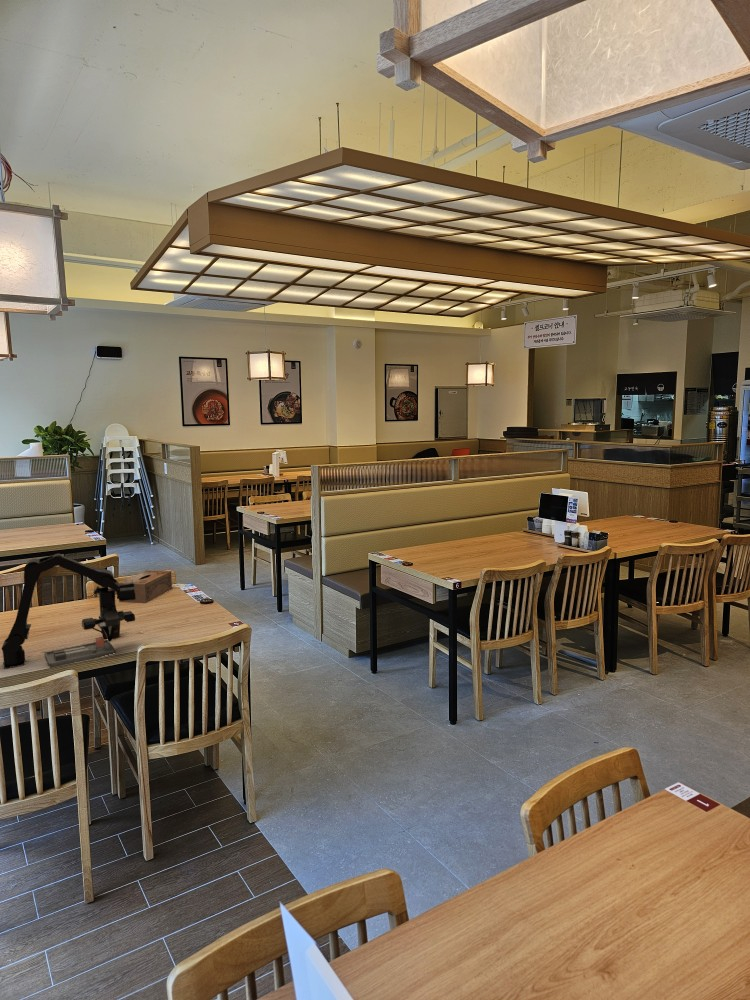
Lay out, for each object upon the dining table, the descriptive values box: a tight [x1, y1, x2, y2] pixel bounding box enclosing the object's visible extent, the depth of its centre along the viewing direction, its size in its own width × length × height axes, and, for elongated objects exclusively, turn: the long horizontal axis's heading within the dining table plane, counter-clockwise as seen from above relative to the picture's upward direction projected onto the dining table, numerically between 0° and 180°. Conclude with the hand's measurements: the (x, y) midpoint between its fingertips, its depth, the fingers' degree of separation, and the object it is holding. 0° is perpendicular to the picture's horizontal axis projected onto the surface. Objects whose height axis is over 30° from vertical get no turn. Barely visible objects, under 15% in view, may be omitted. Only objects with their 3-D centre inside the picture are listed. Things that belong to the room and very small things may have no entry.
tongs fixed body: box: [55, 645, 105, 661], centre depth 239 cm, size 18×4×2 cm, turn 125°
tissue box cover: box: [118, 570, 173, 604], centre depth 321 cm, size 26×14×10 cm, turn 169°
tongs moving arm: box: [54, 646, 85, 659], centre depth 239 cm, size 11×2×2 cm, turn 122°
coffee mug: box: [93, 610, 121, 640], centre depth 260 cm, size 12×9×10 cm
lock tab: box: [95, 636, 105, 647], centre depth 243 cm, size 2×4×2 cm, turn 35°
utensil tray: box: [43, 639, 117, 669], centre depth 241 cm, size 23×14×2 cm, turn 125°
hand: (110, 641), depth 245 cm, fingers closed
